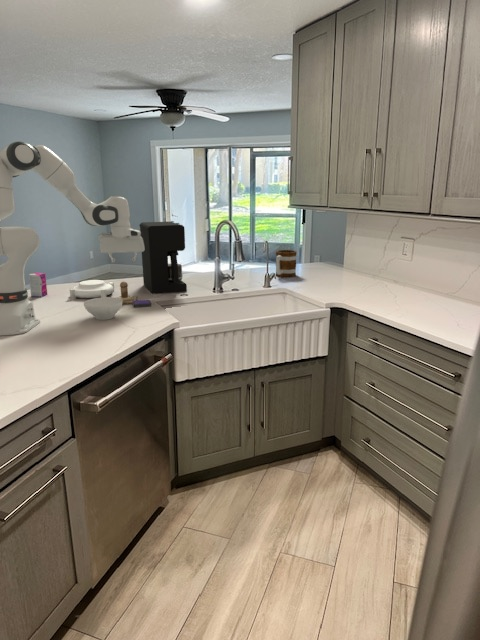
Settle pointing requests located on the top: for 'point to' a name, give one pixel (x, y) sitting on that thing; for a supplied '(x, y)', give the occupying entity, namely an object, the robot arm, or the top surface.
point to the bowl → (103, 307)
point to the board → (129, 301)
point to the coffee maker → (162, 256)
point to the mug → (286, 263)
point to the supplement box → (38, 284)
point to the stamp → (124, 291)
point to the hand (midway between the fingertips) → (123, 262)
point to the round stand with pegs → (92, 289)
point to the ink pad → (142, 303)
